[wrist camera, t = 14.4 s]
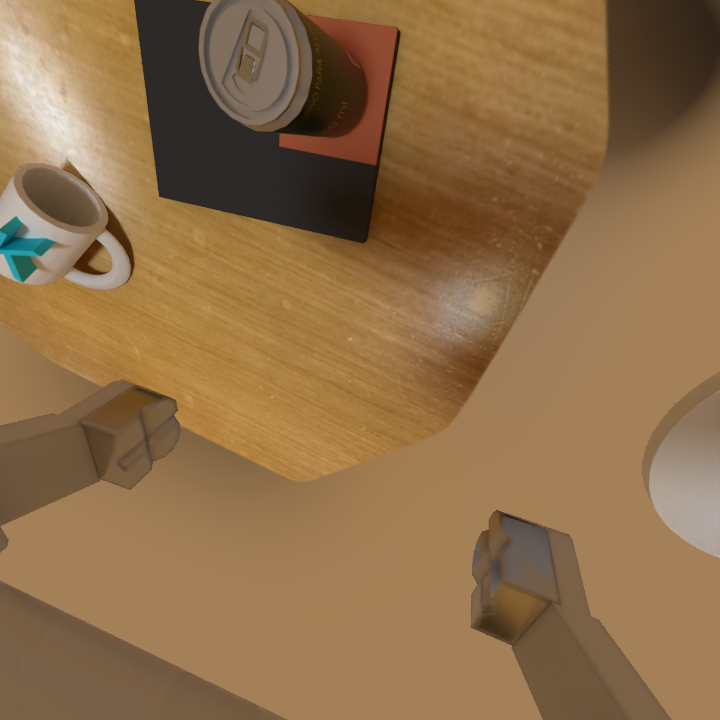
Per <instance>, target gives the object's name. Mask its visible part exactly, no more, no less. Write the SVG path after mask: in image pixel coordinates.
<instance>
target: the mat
mask: <svg viewBox="0 0 720 720" xmlns="http://www.w3.org/2000/svg"><path fill="white" fill-rule="evenodd" d="M134 2H135V10H136V18H137V25H138V33H139V41H140V49H141V57H142V65H143V73H144V80H145V88H146V96H147V104H148V112H149V120H150V128H151V135H152V143H153V151H154V159H155V167H156V175H157V183H158V190H159V197H163V198H167V199H172V200H176V201H180V202H185V203H189V204H193V205H198V206H202V207H207V208H211V209H215V210H220V211H224V212H229V213H233V214H237V215H242V216H246V217H251V218H255V219H259V220H264V221H268V222H272V223H277V224H281V225H286V226H290V227H294V228H299V229H303V230H308V231H312V232H316V233H321V234H325V235H329V236H334V237H338V238H343V239H347V240H351V241H356V242H360V243H365V242H366V241H367V236H368V230H369V224H370V218H371V212H372V205H373V199H374V193H375V187H376V180H377V174H378V168H379V162H380V156H381V149H382V143H383V137H384V131H385V125H386V118H387V112H388V106H389V100H390V94H391V87H392V81H393V75H394V69H395V63H396V56H397V50H398V44H399V38H400V32H399V30H398V28H397V27H390V26H383V25H376V24H369V23H362V22H354V21H347V20H340V19H333V18H326V17H318V16H311V15H305V16H307V17H308V18H309V19H310V20H312V21H313V22H314V23H315V24H316V25H318V26H319V27H320V28H321V29H322V30H324V31H325V32H326V33H327V34H329V35H330V36H331V37H332V38H333V39H335V40H336V41H337V42H338V43H340V44H341V45H342V46H343V47H344V48H346V49H347V50H348V51H349V52H350V53H351V54H352V55H353V56H354V57H355V58H356V59H357V61H358V63H359V65H360V66H361V68H362V70H363V73H364V77H365V82H366V86H367V87H366V103H365V107H364V110H363V113H362V116H361V118H360V119H359V121H358V122H357V124H356V126H355V127H354V128H352V129H351V130H350V131H349V132H348V133H347V134H345V135H342V136H339V137H337V138H324V137H313V136H303V135H292V134H281V133H271V132H260V131H255V130H253V129H251V128H248V127H246V126H244V125H242V124H241V123H240V122H238V121H237V120H235V119H233V118H231V117H230V116H229V115H228V114H227V113H226V112H225V111H224V110H222V109H221V108H220V107H219V105H218V104H217V102H216V101H215V99H214V98H213V96H212V95H211V93H210V92H209V90H208V87H207V84H206V82H205V79H204V76H203V74H202V70H201V64H200V57H199V37H200V27H201V24H202V21H203V18H204V16H205V13H206V10H207V8H208V7H209V5H210V4H211V2H204V1H196V0H134Z"/></svg>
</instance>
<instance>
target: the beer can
mask: <svg viewBox="0 0 720 720" xmlns="http://www.w3.org/2000/svg"><path fill="white" fill-rule="evenodd" d="M199 57H200V64H201V70H202V74H203V76H204V79H205V82H206V84H207V87H208V90H209V92H210V93H211V95H212V96H213V98H214V99H215V101H216V102H217V104H218V105H219V107H220V108H221V109H222V110H224V111H225V112H226V113H227V114H228V115H229V116H230V117H231V118H233V119H235V120H237V121H238V122H240V123H241V124H242V125H244V126H246V127H248V128H251V129H253V130H255V131H260V132H271V133H281V134H292V135H303V136H313V137H324V138H337V137H339V136H342V135H345V134H347V133H348V132H349V131H350V130H351V129H352V128H354V127H355V126H356V124H357V122H358V121H359V119H360V118H361V116H362V113H363V110H364V107H365V103H366V87H367V86H366V82H365V77H364V73H363V70H362V68H361V66H360V65H359V63H358V61H357V59H356V58H355V57H354V56H353V55H352V54H351V53H350V52H349V51H348V50H347V49H346V48H344V47H343V46H342V45H341V44H340V43H338V42H337V41H336V40H335V39H333V38H332V37H331V36H330V35H329V34H327V33H326V32H325V31H324V30H322V29H321V28H320V27H319V26H318V25H316V24H315V23H314V22H313V21H312V20H310V19H309V18H308V17H307V16H305V15H304V14H303V13H302V12H301V11H299V10H298V9H297V8H296V7H294V6H293V5H292V4H291V3H290V2H288V1H287V0H213V1H212V3H211V4H210V5H209V7H208V8H207V10H206V13H205V16H204V18H203V21H202V24H201V27H200V37H199Z"/></svg>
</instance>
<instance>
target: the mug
mask: <svg viewBox="0 0 720 720" xmlns="http://www.w3.org/2000/svg"><path fill="white" fill-rule="evenodd" d="M107 223H108V212H107V210H106V207H105V205H104V203H103V201H102V200H101V199H100V197H99V196H98V195H97V193H96V192H95V191H94V190H93V189H91V188H90V187H89V186H88V185H87V184H86V183H85V182H83V181H82V180H80V179H79V178H77V177H76V176H74V175H73V174H71V173H69V172H67V171H65V170H62V169H60V168H58V167H55V166H51V165H47V164H43V163H29V164H26V165H23V166H20V167H19V168H18V169H17V171H16V172H15V173H14V174H13V176H12V178H11V180H10V181H9V183H8V185H7V187H6V189H5V190H4V192H3V194H2V196H1V197H0V274H2V275H3V276H5V277H7V278H9V279H11V280H14V281H17V282H20V283H24V284H31V285H43V284H49V283H52V282H55V281H57V280H59V279H61V278H62V277H64V278H66V279H68V280H69V281H71V282H73V283H76V284H79V285H82V286H84V287H88V288H93V289H113V288H118V287H120V286H121V285H123V284H124V283H126V282H127V280H128V279H129V277H130V273H131V264H130V260H129V257H128V255H127V253H126V251H125V249H124V248H123V246H122V245H121V244H120V243H119V241H118V240H117V239H116V238H115V237H114V236H113V235H112V234H111V233H110V232H109V231H107V230H106V229H105V227H106V225H107ZM95 239H97V240H98V241H99V242H100V243H102V245H103V246H104V247H105V248H106V249H107V250H108V252H109V254H110V255H111V258H112V261H113V266H112V269H111V270H110V271H109V272H108V273H106V274H102V275H93V274H88V273H84V272H82V271H79V270H77V269H75V268H73V265H74V264H75V263H76V262H77V261H78V259H79V258H80V257H81V256H82V255H83V253H84V252H85V251H86V250H87V249H88V248H89V246H90V245H91V244H92V243H93V242H94V240H95Z"/></svg>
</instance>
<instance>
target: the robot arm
mask: <svg viewBox="0 0 720 720" xmlns="http://www.w3.org/2000/svg"><path fill="white" fill-rule="evenodd" d="M177 411H178V408H177V403H176V400H175V399H173V398H171V397H168V396H165V395H163V394H160V393H157V392H155V391H152V390H150V389H147V388H144V387H142V386H139V385H136V384H133V383H130V382H128V381H125V380H118V381H114V382H112V383H110V384H109V385H107V386H105V387H104V388H102V389H101V390H99V391H97V392H96V393H94V394H92V395H91V396H89V397H87V398H86V399H84V400H82V401H81V402H79V403H77V404H76V405H74V406H73V407H71V408H69V409H67V410H66V411H64V412H63V413H61V414H59V415H57V414H54V413H53V414H48V415H44V416H39V417H35V418H31V419H27V420H23V421H18V422H14V423H10V424H5V425H1V426H0V526H1V525H3V524H6V523H8V522H10V521H12V520H15V519H17V518H19V517H21V516H23V515H26V514H28V513H30V512H32V511H34V510H37V509H39V508H41V507H43V506H46V505H48V504H50V503H52V502H55V501H57V500H59V499H61V498H63V497H65V496H68V495H70V494H72V493H74V492H77V491H79V490H81V489H83V488H86V487H88V486H90V485H92V484H94V483H96V482H99V481H100V479H101V480H104V481H107V482H110V483H112V484H115V485H118V486H120V487H124V488H126V489H129V490H130V489H132V488H133V487H134V486H135V485H136V484H137V483H138V482H139V481H140V480H141V479H142V478H143V477H145V475H147V474H148V473H149V472H150V471H151V469H152V463H153V461H156V460H159V459H161V458H164V457H166V455H168V454H169V453H170V452H171V451H172V450H173V448H174V446H175V445H176V443H177V441H178V439H179V436H180V423H179V422H178V420H177V419H176V418H175V416H174V414H175V413H176V412H177ZM8 541H9V540H8V539H7V537H6V535H5V534H4V532H3V530H2V529H1V527H0V552H1V551H3V550H4V549H5V548H6V547H7V545H8ZM472 566H473V567H472V575H473V576H474V578H475V580H476V582H477V584H478V585H477V586H476V588H475V590H474V591H473V593H472V597H471V628H473V629H475V630H478V631H480V632H482V633H485V634H487V635H489V636H491V637H494V638H496V639H498V640H501V641H503V642H505V643H508V644H510V645H512V646H513V647H512V650H513V652H514V654H515V657H516V659H517V661H518V663H519V666H520V668H521V670H522V673H523V675H524V677H525V680H526V682H527V684H528V686H529V689H530V691H531V693H532V695H533V698H534V700H535V702H536V705H537V707H538V709H539V712H540V714H541V716H542V718H543V720H671V718H670V717H669V716H668V714H667V713H666V711H665V710H664V709H663V707H662V706H661V705H660V703H659V702H658V700H657V699H656V698H655V696H654V695H653V693H652V692H651V691H650V689H649V688H648V687H647V685H646V684H645V682H644V681H643V680H642V678H641V677H640V676H639V675H638V673H637V671H636V670H635V669H634V667H633V666H632V665H631V663H630V662H629V660H628V659H627V658H626V656H625V655H624V654H623V652H622V651H621V649H620V648H619V647H618V645H617V644H616V643H615V641H614V640H613V638H612V637H611V636H610V634H609V633H608V632H607V631H606V629H605V627H604V626H603V625H602V623H601V622H600V621H599V620H598V619H596V618H593V617H591V616H590V611H589V607H588V603H587V599H586V595H585V590H584V586H583V582H582V578H581V574H580V570H579V565H578V561H577V557H576V553H575V549H574V544H573V540H572V539H571V537H570V536H569V534H566V533H562V532H560V531H556V530H554V529H551V528H548V527H545V526H542V525H540V524H537V523H534V522H531V521H528V520H525V519H522V518H519V517H516V516H513V515H510V514H507V513H504V512H501V511H498V510H496V511H495V512H493V514H492V515H491V517H490V519H489V530H486V531H483V532H482V533H481V535H480V537H479V539H478V541H477V544H476V547H475V551H474V556H473V564H472ZM0 720H287V719H285V718H283V717H281V716H279V715H277V714H274V713H272V712H270V711H268V710H266V709H264V708H262V707H260V706H258V705H256V704H254V703H252V702H249V701H248V700H246V699H243V698H241V697H239V696H237V695H235V694H233V693H231V692H229V691H227V690H225V689H223V688H221V687H219V686H217V685H215V684H212V683H211V682H208V681H206V680H204V679H202V678H200V677H198V676H196V675H194V674H192V673H190V672H188V671H186V670H183V669H181V668H179V667H178V666H175V665H173V664H171V663H169V662H167V661H165V660H163V659H161V658H159V657H157V656H155V655H153V654H151V653H148V652H146V651H144V650H142V649H140V648H138V647H136V646H134V645H132V644H130V643H128V642H126V641H124V640H122V639H120V638H118V637H116V636H114V635H111V634H109V633H107V632H105V631H103V630H101V629H99V628H97V627H95V626H93V625H91V624H89V623H87V622H85V621H83V620H81V619H78V618H76V617H74V616H72V615H70V614H68V613H66V612H64V611H62V610H60V609H58V608H56V607H54V606H52V605H50V604H47V603H45V602H43V601H41V600H39V599H37V598H35V597H33V596H31V595H29V594H27V593H24V592H22V591H21V590H19V589H16V588H14V587H12V586H10V585H8V584H6V583H4V582H2V581H0Z"/></svg>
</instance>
